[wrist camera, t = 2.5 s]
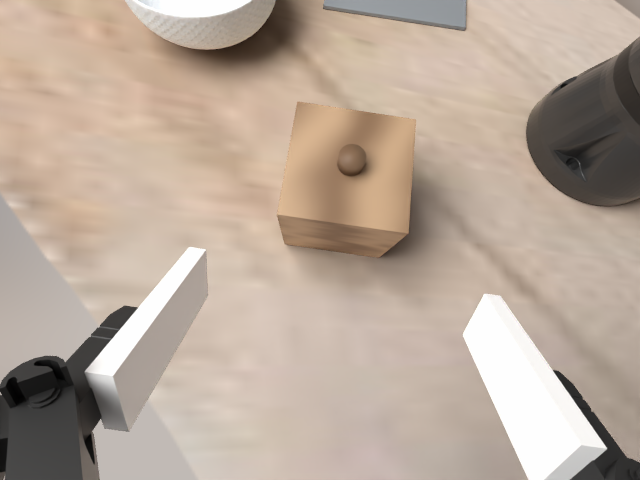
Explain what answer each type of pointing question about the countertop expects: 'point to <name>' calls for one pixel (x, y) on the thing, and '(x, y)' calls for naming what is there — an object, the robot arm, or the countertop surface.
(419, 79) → the countertop surface
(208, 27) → the cereal bowl
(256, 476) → the countertop surface
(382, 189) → the walnut cover
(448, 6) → the slate mat
